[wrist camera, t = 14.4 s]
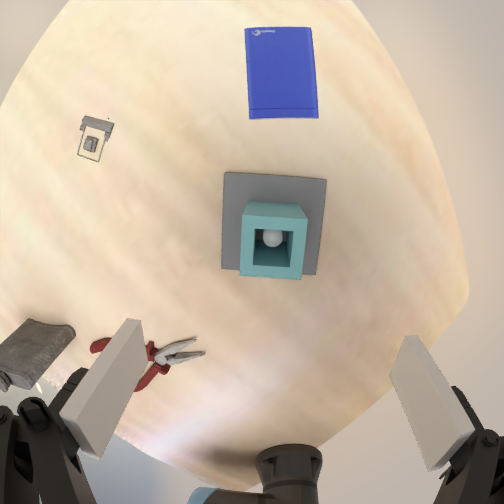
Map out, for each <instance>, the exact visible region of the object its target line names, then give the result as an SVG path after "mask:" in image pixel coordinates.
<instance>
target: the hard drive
mask: <svg viewBox="0 0 504 504" xmlns="http://www.w3.org/2000/svg"><path fill="white" fill-rule="evenodd" d="M245 46H246V63H247V83H248V101H249V119H250V120H257V119H290V118H304V119H318V118H319V117H318V100H317V85H316V71H315V60H314V50H313V41H312V31H311V28H310V27H255V28H245Z"/></svg>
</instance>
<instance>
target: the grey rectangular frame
mask: <svg viewBox="0 0 504 504" xmlns="http://www.w3.org/2000/svg"><path fill="white" fill-rule="evenodd" d="M108 119H109V118H108ZM86 126H89V127H92V128H95V129H99V130H102V131H106V132H105V135H104V137H105V140H104V143H105V141H107V142H108V139H109V138H110V135H111V132H112V129H113V126H114V123H110V122H106V121H103V120H99V119H96V118H92V117H88V116H84V118H83V119H82V125H81V127H80V130H82V131H83V134H84V131H85V128H86ZM83 134H82V138H83ZM82 138H81V142H82ZM98 140H99V139H98ZM81 142H80V145H81ZM96 142H97V139H96V138H93V137H89V136H87V138H86V139H85V143H84V146H83V148H84V150H87V151H90V152H94V149H95V147H97V146H95V145H97V144H96ZM104 143H103V146H104ZM80 145H79V149H80ZM103 146H102V149H103ZM79 149H78V153H79ZM102 149H101V153H102ZM78 153H77V155H79V154H78ZM101 153H100V156H101ZM79 156H82V155H79ZM100 156H99V160H100ZM82 157H84V156H82ZM84 158H87V157H84ZM87 159H90V158H87ZM90 160H93V159H90ZM99 160H98V161H96V160H93V161H96V162H99Z"/></svg>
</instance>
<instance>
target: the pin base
mask: <svg viewBox="0 0 504 504" xmlns="http://www.w3.org/2000/svg"><path fill="white" fill-rule="evenodd" d="M326 183H327V180H325V179H317V178H307V177H295V176H283V175H269V174H253V173H233V172H225V173H224V187H223V218H222V262H221V269H231V270H240V254H241V231H242V214H243V212H244V210H245V207H246V205H247V202H248V201H260V202H275V203H289V204H299V205H300V207H301V208H302V210H303V212H304V214H305V215H306V217H307V219H308V224H307V233H306V242H305V251H304V259H303V267H302V274H305V275H316V268H317V261H318V253H319V246H320V238H321V230H322V221H323V212H324V203H325V193H326ZM286 233H287V231H283V230H269V229H257V233H256V240H258V241H264V242H265V244H266V245H267V246H270V247H276V246H278V245H279V244H280V243H281V242H286Z"/></svg>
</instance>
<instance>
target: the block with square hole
mask: <svg viewBox="0 0 504 504" xmlns="http://www.w3.org/2000/svg"><path fill="white" fill-rule="evenodd" d="M307 224H308V219H307V217H306V215H305V214H304V212H303V210H302V208H301V207H300V205H299V204H289V203H275V202H260V201H248V202H247V205H246V207H245V210H244V212H243V214H242V231H241V254H240V276H253V277H268V278H283V279H299V280H301V275H302V267H303V259H304V251H305V242H306V233H307ZM257 229H269V230H283V231H287V233H286V242H281V243H280V244H279V245H278V246H276V247H270V246H267V245H266V244H265V242H264V241H258V240H256V233H257Z"/></svg>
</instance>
